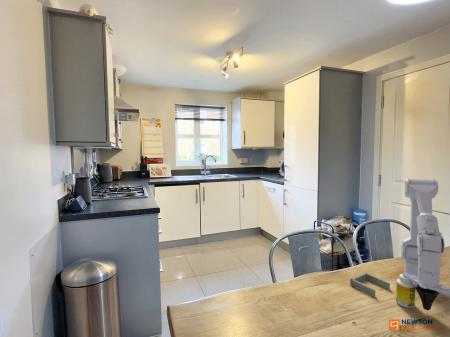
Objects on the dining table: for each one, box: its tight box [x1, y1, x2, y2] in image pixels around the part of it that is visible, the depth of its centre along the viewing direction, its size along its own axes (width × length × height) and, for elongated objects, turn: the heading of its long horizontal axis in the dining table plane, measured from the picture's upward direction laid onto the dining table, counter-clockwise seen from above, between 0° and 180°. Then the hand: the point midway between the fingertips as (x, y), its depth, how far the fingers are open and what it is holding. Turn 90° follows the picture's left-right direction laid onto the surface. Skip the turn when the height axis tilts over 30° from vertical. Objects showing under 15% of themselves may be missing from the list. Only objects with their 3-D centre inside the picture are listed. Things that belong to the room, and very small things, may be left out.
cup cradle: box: [349, 272, 391, 298], centre depth 101 cm, size 11×10×2 cm
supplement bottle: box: [395, 273, 416, 309], centre depth 89 cm, size 6×6×10 cm
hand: (426, 308), depth 84 cm, fingers closed
